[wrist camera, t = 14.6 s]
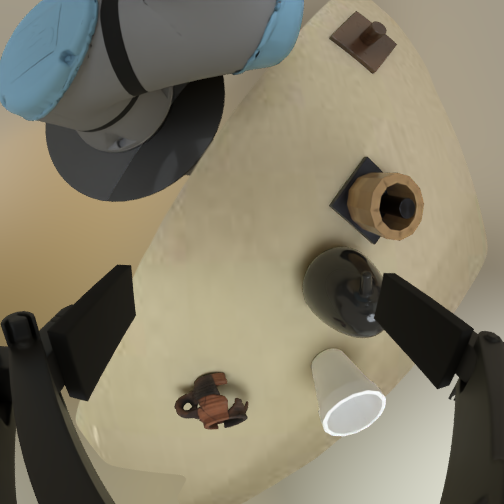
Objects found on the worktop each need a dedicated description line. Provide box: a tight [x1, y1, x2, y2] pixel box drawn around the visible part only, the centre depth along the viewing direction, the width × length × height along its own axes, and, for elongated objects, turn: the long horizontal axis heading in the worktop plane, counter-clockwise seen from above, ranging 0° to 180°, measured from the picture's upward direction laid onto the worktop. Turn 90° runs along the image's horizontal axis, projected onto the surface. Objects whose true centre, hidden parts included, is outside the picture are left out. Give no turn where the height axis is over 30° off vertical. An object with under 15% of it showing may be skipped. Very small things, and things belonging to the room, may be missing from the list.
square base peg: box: [329, 157, 415, 244], centre depth 33 cm, size 9×9×10 cm
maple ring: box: [347, 173, 424, 241], centre depth 33 cm, size 8×8×7 cm
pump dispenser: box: [303, 247, 384, 338], centre depth 33 cm, size 10×10×15 cm
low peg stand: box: [329, 11, 397, 73], centre depth 29 cm, size 8×8×6 cm
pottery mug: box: [174, 373, 248, 429], centre depth 42 cm, size 12×10×8 cm
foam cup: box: [311, 348, 386, 436], centre depth 38 cm, size 10×9×13 cm
